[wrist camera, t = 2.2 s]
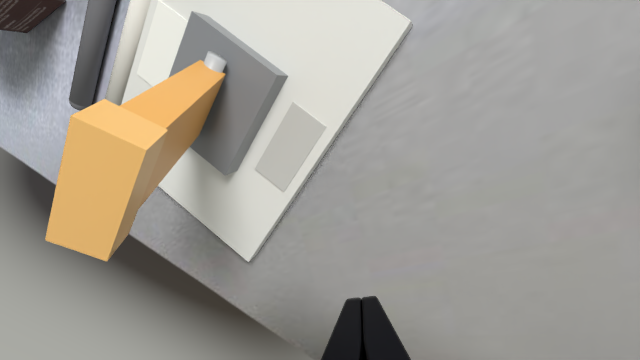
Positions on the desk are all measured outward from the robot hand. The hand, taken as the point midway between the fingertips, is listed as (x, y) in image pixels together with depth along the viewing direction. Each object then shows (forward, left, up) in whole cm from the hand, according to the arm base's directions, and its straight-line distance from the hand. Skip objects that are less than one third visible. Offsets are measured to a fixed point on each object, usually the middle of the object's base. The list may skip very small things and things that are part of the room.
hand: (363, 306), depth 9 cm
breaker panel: (+9, +8, -10) cm, 16 cm away
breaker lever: (+9, +8, -7) cm, 14 cm away
